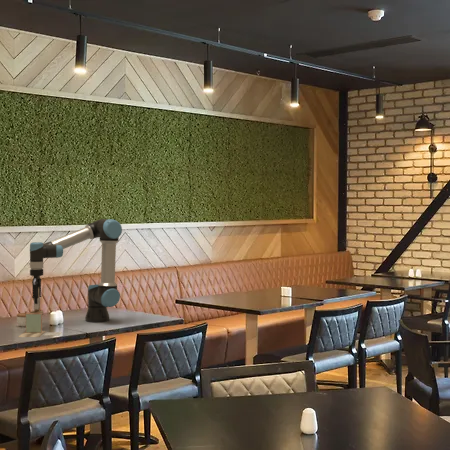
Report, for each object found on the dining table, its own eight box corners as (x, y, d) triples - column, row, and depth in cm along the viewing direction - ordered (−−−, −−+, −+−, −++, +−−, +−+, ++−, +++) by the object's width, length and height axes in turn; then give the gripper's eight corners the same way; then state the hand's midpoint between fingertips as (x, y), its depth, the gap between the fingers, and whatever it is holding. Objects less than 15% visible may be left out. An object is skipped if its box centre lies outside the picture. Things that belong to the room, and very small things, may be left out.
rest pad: (62, 333, 419) (62, 332, 419) (59, 336, 410) (59, 335, 410) (46, 333, 419) (46, 332, 419) (42, 336, 410) (42, 335, 410)
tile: (42, 332, 420) (42, 313, 419) (41, 332, 418) (41, 313, 417) (26, 332, 419) (26, 313, 419) (25, 332, 417) (25, 313, 417)
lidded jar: (18, 325, 446) (18, 310, 445) (36, 325, 446) (36, 309, 446) (15, 328, 435) (14, 312, 435) (33, 328, 436) (33, 312, 435)
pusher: (43, 314, 429) (43, 286, 429) (40, 316, 423) (40, 288, 423) (32, 314, 429) (32, 286, 428) (30, 316, 423) (30, 288, 422)
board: (46, 331, 423) (46, 331, 423) (39, 337, 405) (39, 336, 405) (25, 332, 423) (25, 331, 423) (17, 337, 405) (17, 337, 405)
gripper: (33, 267, 433) (33, 306, 434) (26, 270, 417) (27, 310, 418) (46, 267, 433) (46, 306, 434) (40, 270, 417) (40, 310, 418)
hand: (36, 308), depth 426 cm, fingers closed on pusher, 3 cm apart
